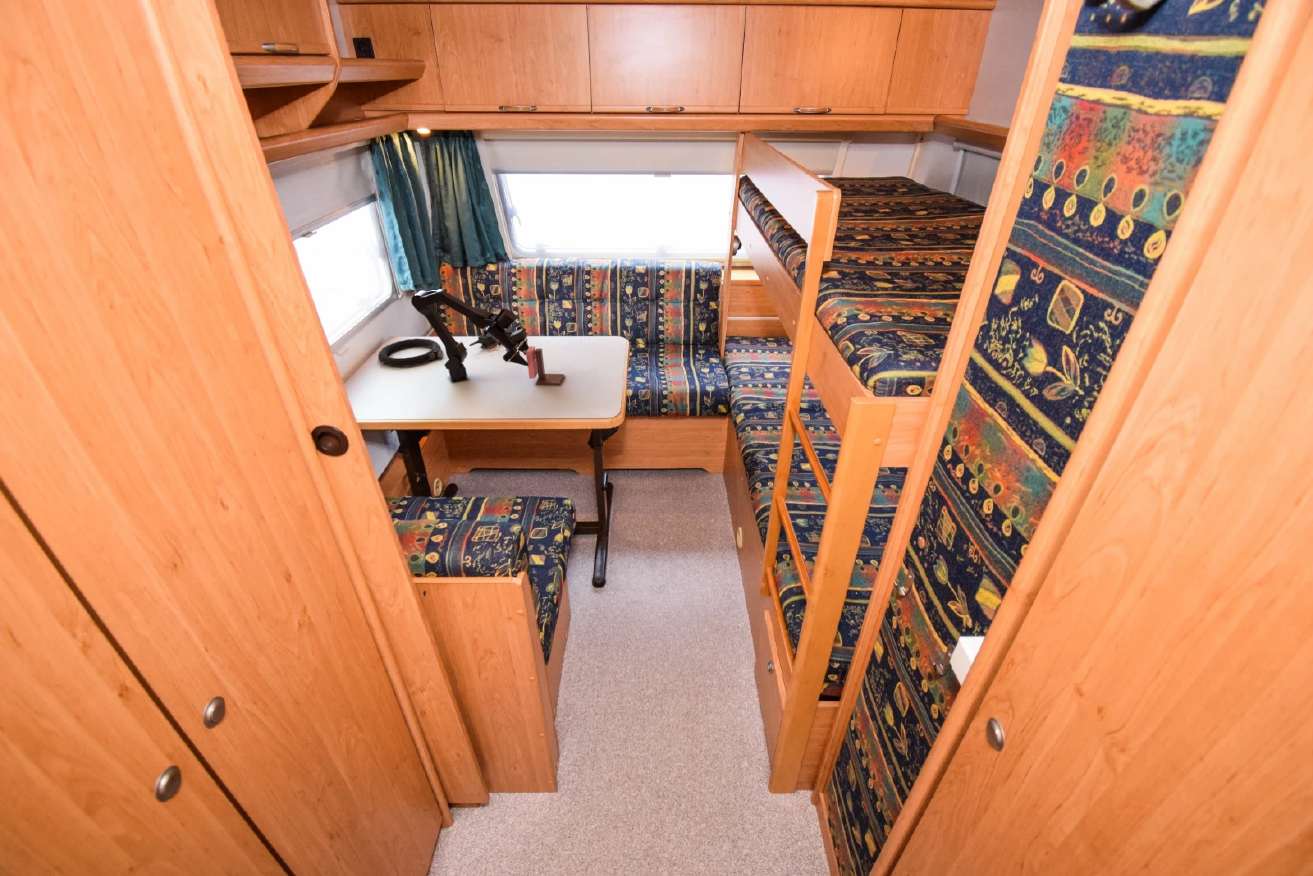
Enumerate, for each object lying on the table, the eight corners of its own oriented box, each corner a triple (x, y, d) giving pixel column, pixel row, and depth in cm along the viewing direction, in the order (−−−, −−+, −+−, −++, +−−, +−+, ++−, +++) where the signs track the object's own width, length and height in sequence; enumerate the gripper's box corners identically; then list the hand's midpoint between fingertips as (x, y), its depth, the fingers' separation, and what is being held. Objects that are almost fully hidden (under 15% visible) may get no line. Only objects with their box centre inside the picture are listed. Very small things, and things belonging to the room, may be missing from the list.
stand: (524, 384, 246) (519, 353, 239) (529, 375, 254) (525, 345, 247) (559, 385, 245) (556, 354, 238) (564, 376, 253) (560, 345, 246)
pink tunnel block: (529, 378, 246) (525, 352, 240) (533, 372, 252) (529, 346, 245) (534, 378, 246) (531, 352, 240) (538, 372, 251) (534, 346, 245)
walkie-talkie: (503, 335, 289) (480, 347, 272) (497, 343, 292) (473, 355, 275) (495, 326, 288) (471, 337, 271) (488, 334, 291) (464, 345, 274)
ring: (399, 335, 286) (455, 339, 281) (401, 342, 288) (456, 346, 283) (364, 357, 263) (424, 362, 258) (366, 365, 265) (426, 370, 260)
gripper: (506, 331, 229) (537, 357, 234) (519, 314, 245) (548, 340, 250) (490, 349, 234) (520, 375, 239) (503, 332, 250) (532, 356, 255)
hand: (531, 360), depth 245 cm, fingers open, 9 cm apart
